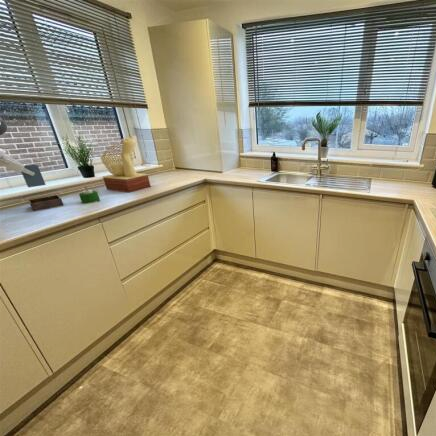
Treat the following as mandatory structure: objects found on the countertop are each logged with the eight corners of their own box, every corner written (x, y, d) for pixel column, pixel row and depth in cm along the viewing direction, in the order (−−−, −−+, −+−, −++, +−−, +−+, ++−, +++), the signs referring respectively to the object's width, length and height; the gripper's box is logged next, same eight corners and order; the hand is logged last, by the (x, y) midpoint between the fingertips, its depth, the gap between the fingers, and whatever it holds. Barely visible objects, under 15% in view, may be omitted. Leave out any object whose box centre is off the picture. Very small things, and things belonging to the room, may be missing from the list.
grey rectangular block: (28, 187, 120) (19, 167, 116) (27, 185, 124) (18, 166, 120) (45, 184, 125) (37, 165, 121) (44, 183, 128) (36, 164, 125)
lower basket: (33, 212, 125) (29, 204, 123) (31, 207, 132) (27, 199, 131) (64, 206, 134) (61, 198, 132) (60, 202, 141) (57, 194, 139)
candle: (82, 201, 141) (76, 185, 137) (99, 198, 145) (94, 182, 142) (81, 205, 135) (75, 187, 131) (100, 202, 139) (94, 185, 135)
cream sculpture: (152, 186, 171) (139, 135, 158) (128, 193, 156) (112, 136, 143) (129, 184, 180) (115, 135, 167) (104, 190, 165) (86, 136, 152)
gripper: (0, 152, 106) (39, 170, 117) (-1, 150, 119) (35, 166, 129) (-11, 163, 105) (30, 181, 115) (-10, 160, 117) (27, 176, 128)
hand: (33, 173), depth 123 cm, fingers closed on grey rectangular block, 6 cm apart
